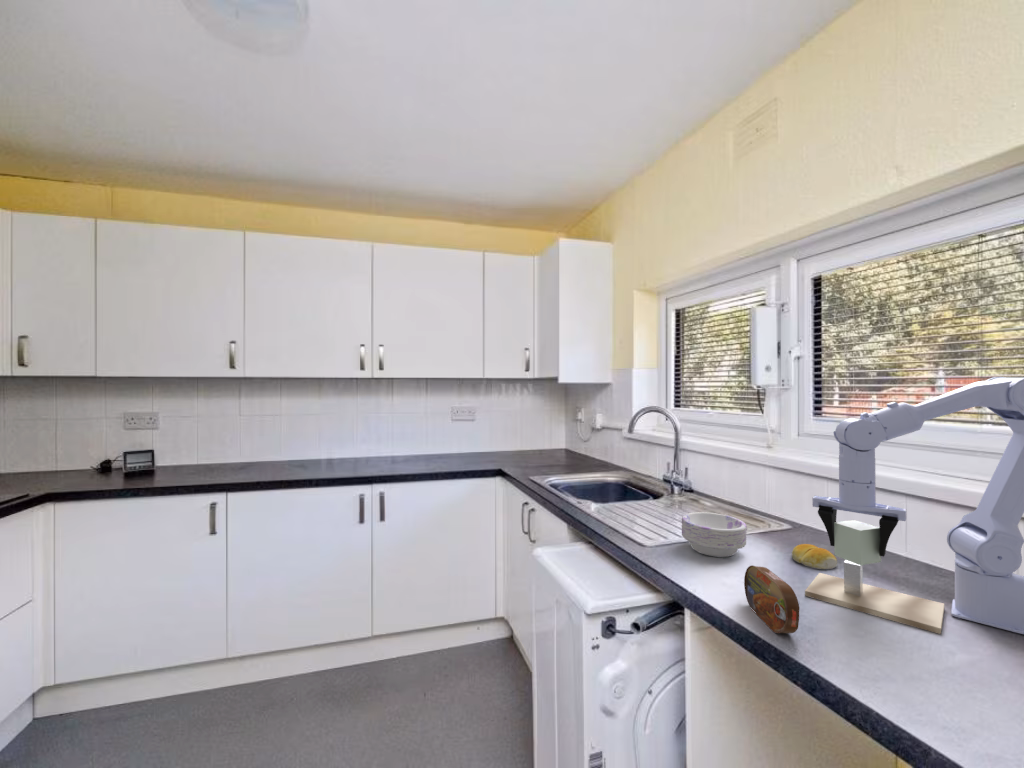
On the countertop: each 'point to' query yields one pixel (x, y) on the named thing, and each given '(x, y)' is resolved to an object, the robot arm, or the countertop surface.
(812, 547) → the bread roll
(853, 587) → the grey and beige block
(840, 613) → the countertop surface
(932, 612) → the board
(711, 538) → the paper bowls
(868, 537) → the pale green block
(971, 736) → the countertop surface
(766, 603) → the tin
